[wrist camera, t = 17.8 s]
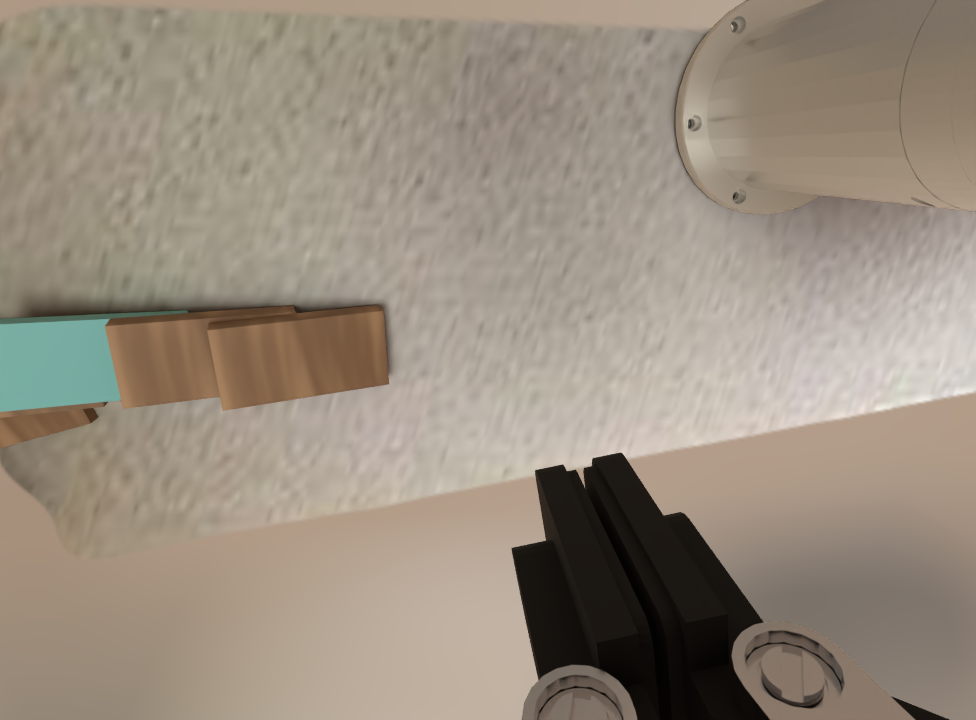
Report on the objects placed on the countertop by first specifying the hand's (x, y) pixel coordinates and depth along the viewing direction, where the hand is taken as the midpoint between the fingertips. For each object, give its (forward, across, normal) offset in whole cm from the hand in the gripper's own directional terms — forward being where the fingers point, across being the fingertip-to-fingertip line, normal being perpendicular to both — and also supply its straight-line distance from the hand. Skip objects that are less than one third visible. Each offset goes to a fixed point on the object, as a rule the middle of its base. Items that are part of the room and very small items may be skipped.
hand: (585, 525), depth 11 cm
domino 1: (+26, +7, +4) cm, 27 cm away
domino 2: (+26, +12, +3) cm, 29 cm away
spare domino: (+26, +18, +2) cm, 32 cm away
